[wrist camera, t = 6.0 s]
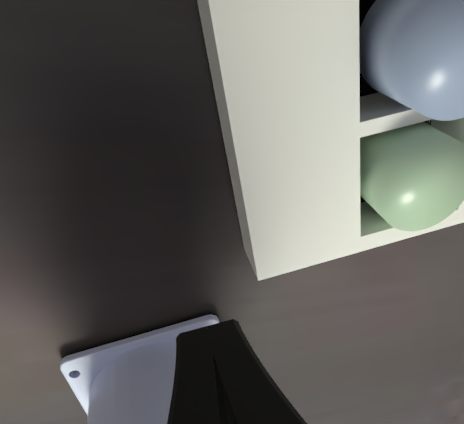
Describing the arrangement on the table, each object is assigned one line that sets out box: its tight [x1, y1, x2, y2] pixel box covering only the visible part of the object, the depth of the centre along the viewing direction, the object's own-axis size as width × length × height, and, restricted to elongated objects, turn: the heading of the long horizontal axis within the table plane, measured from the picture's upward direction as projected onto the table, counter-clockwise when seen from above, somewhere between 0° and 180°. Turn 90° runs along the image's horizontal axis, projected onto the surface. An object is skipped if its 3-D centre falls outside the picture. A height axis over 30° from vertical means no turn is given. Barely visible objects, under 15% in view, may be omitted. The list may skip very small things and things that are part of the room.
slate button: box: [359, 0, 464, 121], centre depth 14 cm, size 4×4×3 cm
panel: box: [197, 0, 464, 281], centre depth 16 cm, size 17×14×2 cm
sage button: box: [360, 122, 464, 231], centre depth 18 cm, size 4×4×3 cm
